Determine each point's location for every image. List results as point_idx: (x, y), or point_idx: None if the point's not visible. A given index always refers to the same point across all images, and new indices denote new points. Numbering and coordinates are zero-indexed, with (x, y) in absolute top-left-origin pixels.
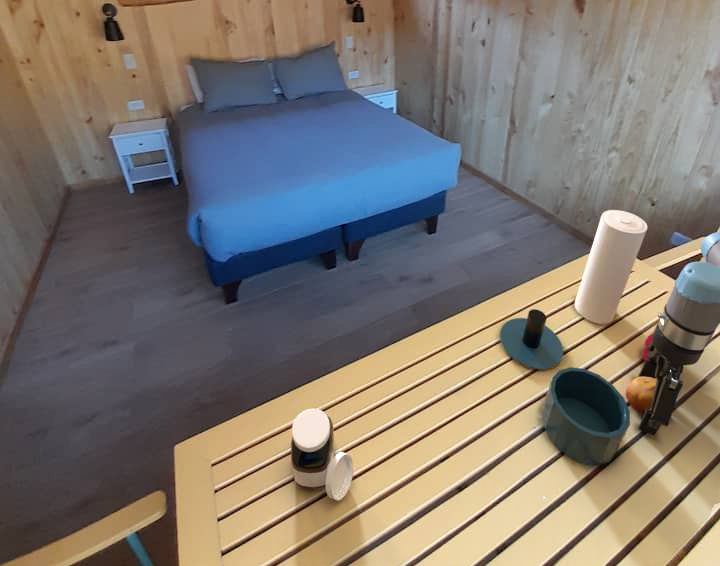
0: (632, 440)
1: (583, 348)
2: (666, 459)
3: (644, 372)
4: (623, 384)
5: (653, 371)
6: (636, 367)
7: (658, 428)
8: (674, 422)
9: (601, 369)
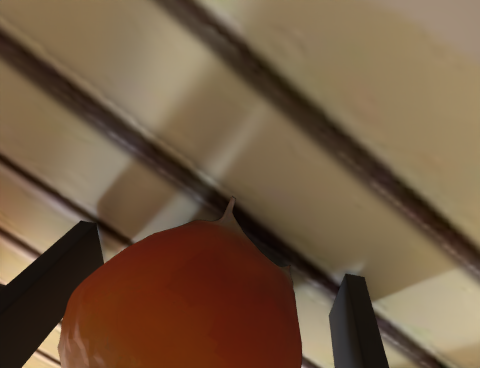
0: (400, 340)
1: None
2: (477, 256)
3: (48, 322)
4: None
5: (7, 332)
6: (32, 245)
7: (379, 337)
8: (244, 169)
9: None
